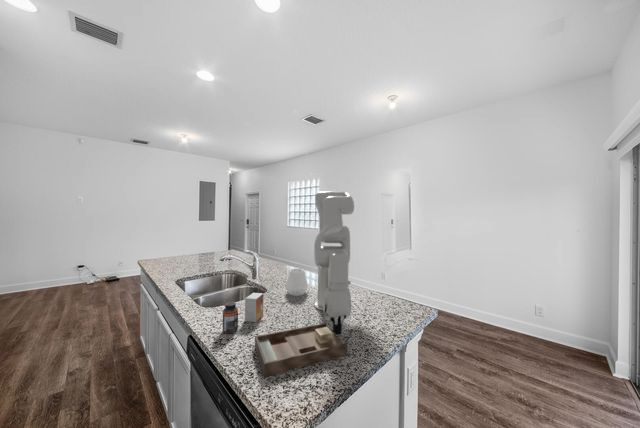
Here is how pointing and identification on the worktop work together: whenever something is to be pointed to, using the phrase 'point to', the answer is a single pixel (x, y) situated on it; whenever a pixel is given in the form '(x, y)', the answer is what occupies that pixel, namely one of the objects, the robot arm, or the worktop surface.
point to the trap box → (295, 349)
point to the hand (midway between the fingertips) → (337, 333)
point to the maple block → (323, 335)
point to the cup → (296, 282)
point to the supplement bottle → (230, 318)
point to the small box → (254, 307)
